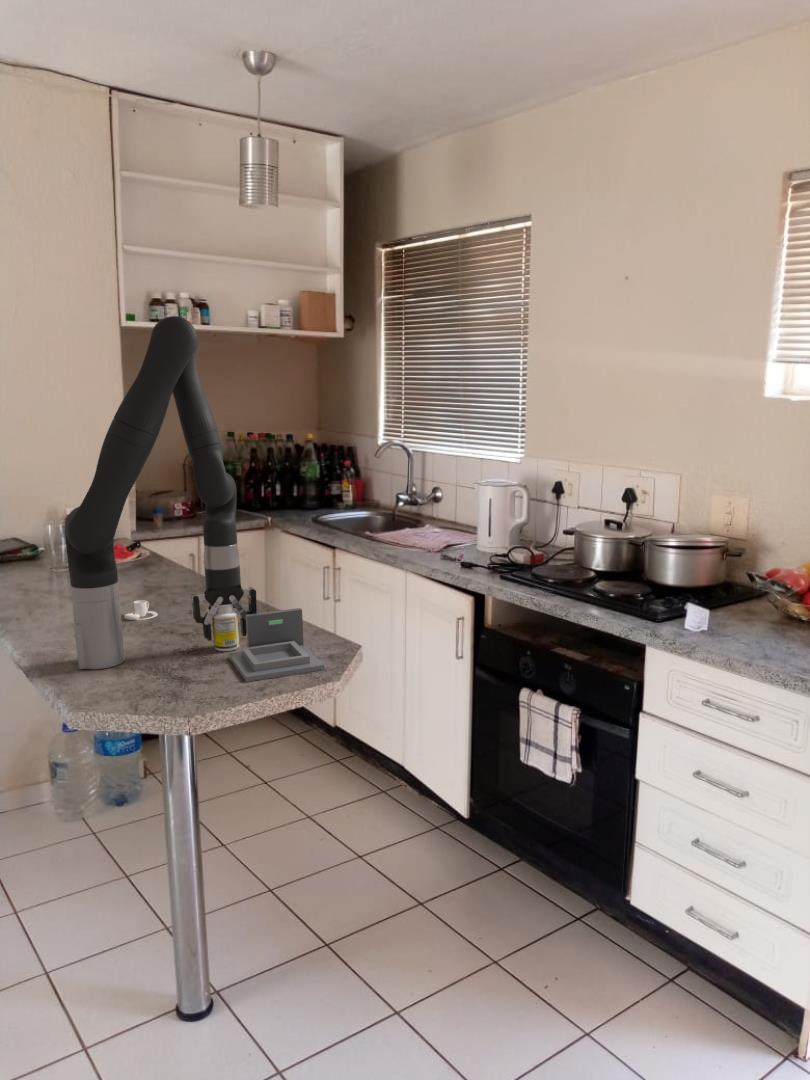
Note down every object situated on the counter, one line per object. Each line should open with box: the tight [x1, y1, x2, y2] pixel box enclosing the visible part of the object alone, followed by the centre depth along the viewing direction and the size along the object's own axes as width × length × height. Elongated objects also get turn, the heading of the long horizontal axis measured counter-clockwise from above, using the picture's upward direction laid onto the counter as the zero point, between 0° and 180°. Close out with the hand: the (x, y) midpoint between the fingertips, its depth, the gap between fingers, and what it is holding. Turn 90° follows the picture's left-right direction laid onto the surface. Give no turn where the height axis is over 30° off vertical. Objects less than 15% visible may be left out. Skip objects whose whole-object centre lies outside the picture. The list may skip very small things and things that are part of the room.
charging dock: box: [228, 607, 325, 683], centre depth 174 cm, size 16×16×9 cm
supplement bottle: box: [211, 604, 241, 652], centre depth 184 cm, size 6×6×10 cm
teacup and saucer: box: [124, 599, 159, 621], centre depth 212 cm, size 9×8×4 cm
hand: (226, 637), depth 185 cm, fingers open, 7 cm apart
